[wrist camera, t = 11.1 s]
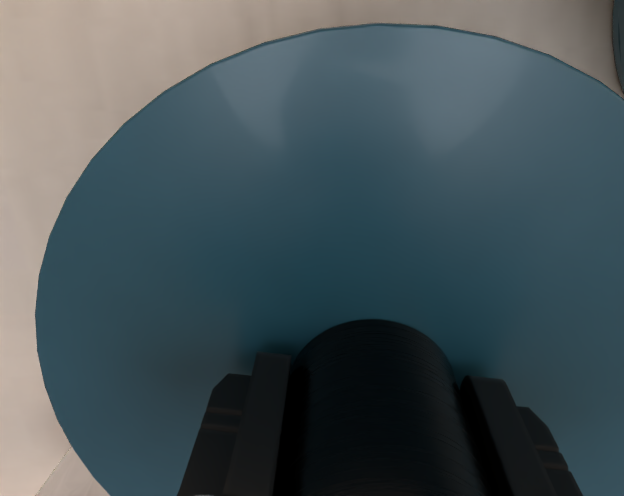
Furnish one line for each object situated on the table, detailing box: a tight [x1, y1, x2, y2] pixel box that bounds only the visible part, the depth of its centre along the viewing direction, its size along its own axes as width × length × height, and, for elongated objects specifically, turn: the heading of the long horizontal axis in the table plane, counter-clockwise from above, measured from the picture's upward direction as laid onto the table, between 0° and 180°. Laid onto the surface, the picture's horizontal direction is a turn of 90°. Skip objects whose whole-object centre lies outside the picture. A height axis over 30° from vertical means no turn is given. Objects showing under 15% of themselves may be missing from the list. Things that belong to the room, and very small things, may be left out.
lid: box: [35, 23, 624, 496], centre depth 10 cm, size 15×15×6 cm
